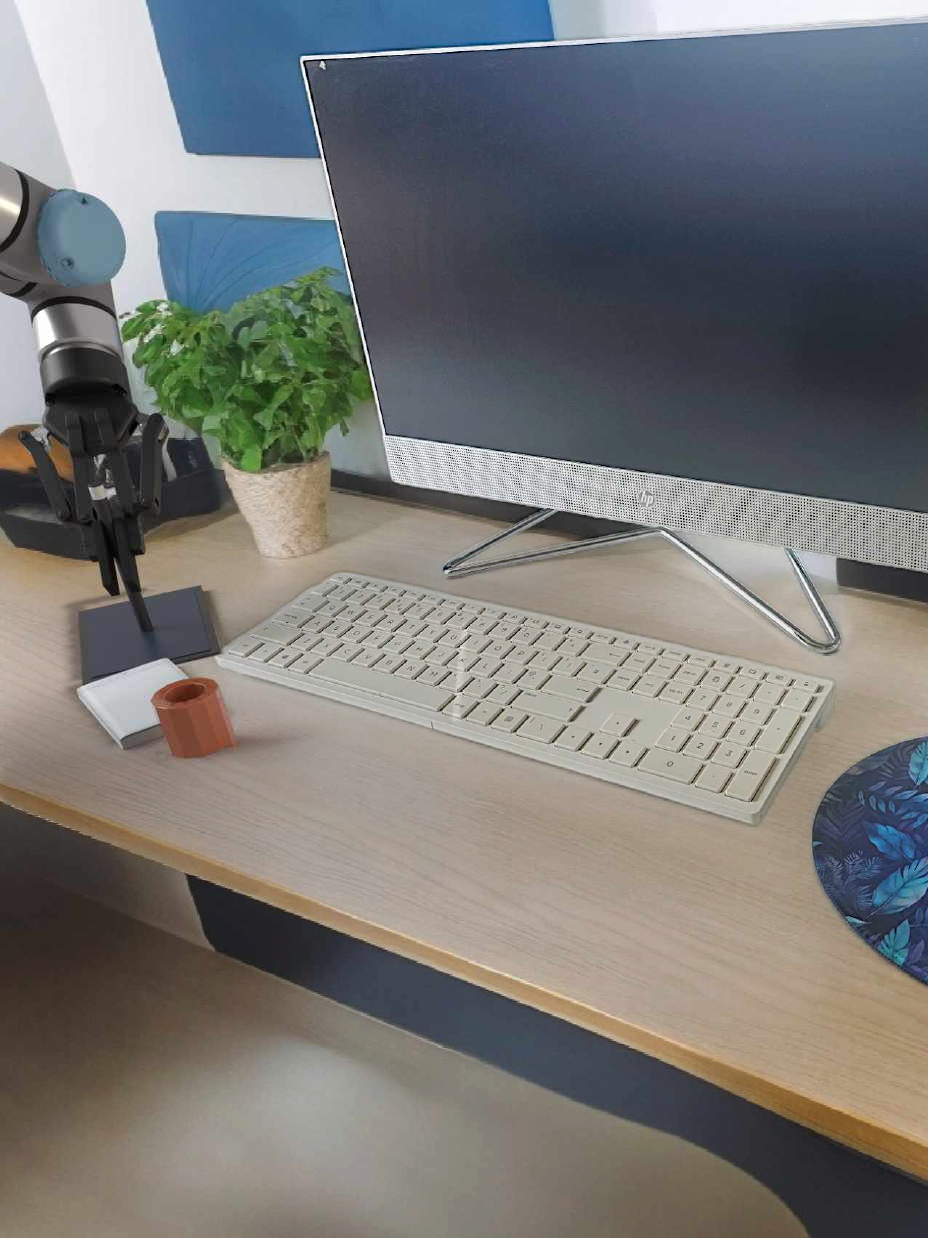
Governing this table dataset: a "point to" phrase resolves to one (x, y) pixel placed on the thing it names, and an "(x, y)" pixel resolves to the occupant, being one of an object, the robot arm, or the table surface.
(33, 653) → the table surface
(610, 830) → the table surface
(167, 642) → the tablet
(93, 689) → the hard drive
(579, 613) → the table surface
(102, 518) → the stylus
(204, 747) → the pen holder
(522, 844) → the table surface
